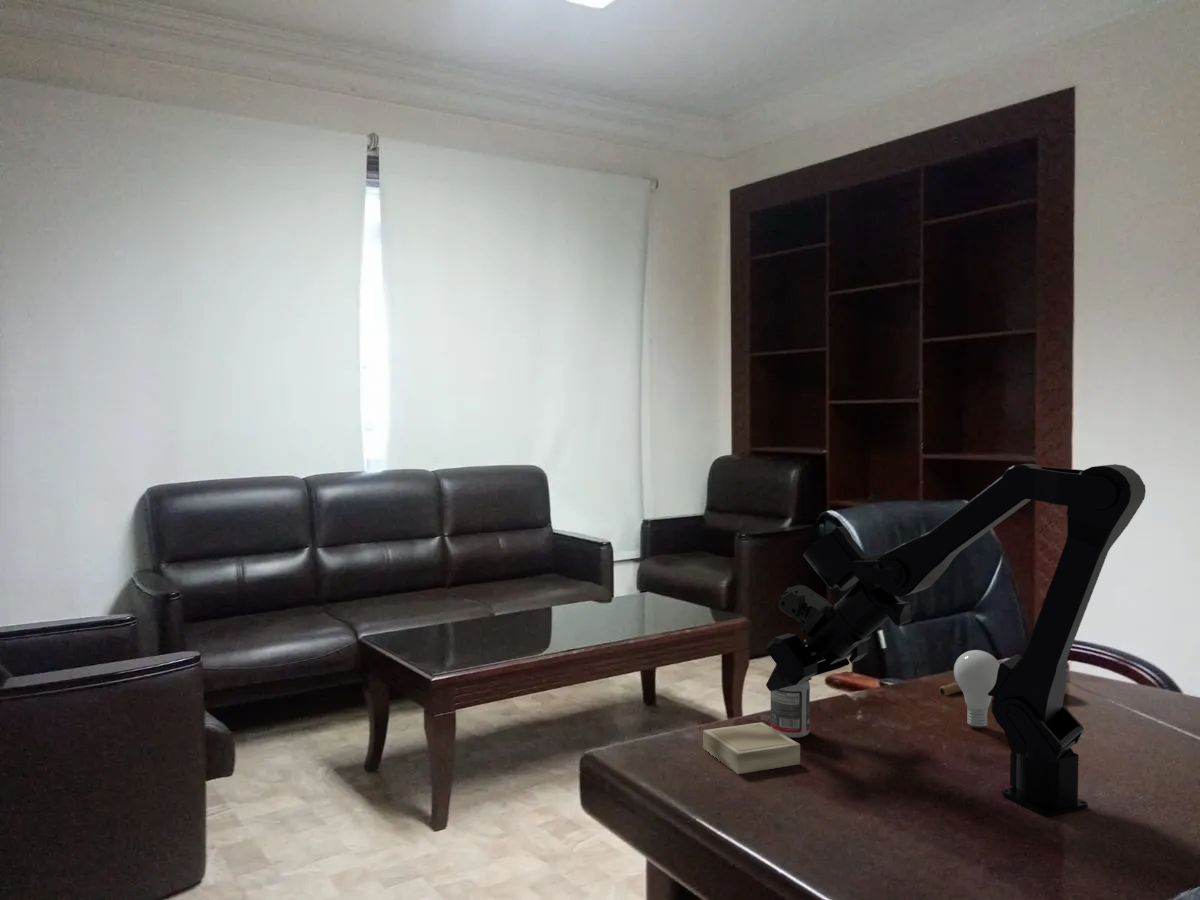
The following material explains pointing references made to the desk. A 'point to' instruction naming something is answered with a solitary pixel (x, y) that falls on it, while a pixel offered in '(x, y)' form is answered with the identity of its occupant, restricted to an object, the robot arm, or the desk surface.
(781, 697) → the pill bottle
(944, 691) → the pipe
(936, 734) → the desk surface
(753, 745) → the plinth
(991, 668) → the lightbulb
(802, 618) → the robot arm
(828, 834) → the desk surface
